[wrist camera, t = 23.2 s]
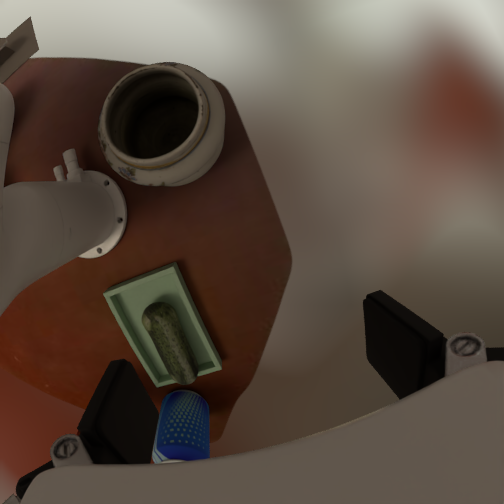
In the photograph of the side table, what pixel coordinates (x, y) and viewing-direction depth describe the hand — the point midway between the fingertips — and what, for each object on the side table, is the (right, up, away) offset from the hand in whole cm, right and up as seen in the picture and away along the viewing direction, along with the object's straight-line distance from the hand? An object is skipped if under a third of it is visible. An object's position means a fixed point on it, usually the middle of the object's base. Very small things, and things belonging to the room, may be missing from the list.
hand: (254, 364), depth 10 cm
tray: (-13, -7, +31) cm, 35 cm away
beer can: (-12, -23, +35) cm, 44 cm away
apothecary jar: (-10, +19, +26) cm, 34 cm away
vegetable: (-9, -9, +27) cm, 30 cm away
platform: (-48, +40, +17) cm, 64 cm away
